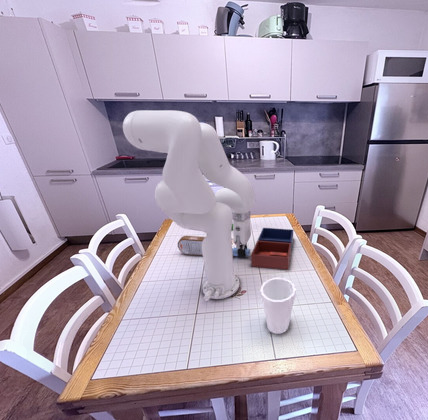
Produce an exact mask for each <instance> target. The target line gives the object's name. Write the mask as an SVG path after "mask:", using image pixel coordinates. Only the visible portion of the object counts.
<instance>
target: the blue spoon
mask: <svg viewBox="0 0 428 420" xmlns="http://www.w3.org/2000/svg"><path fill="white" fill-rule="evenodd" d="M245 252H246V257H245V258H250V257H251V248H247V249H245ZM232 253H233V257H238V249H236V247H232Z"/></svg>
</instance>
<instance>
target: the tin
mask: <svg viewBox="0 0 428 420" xmlns="http://www.w3.org/2000/svg"><path fill="white" fill-rule="evenodd" d="M205 237H206V236H199V235H197V236H195V235H183V236H181V237H180V238H179V240H178V241H177V248H178V250H179V251H180V253H182V254H184V255H188V256H199V257H200V256H202V257H203V254H202V241H203V240H204V238H205Z"/></svg>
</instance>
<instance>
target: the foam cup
mask: <svg viewBox="0 0 428 420" xmlns="http://www.w3.org/2000/svg"><path fill="white" fill-rule="evenodd" d="M296 292H297V291H296V286H295V284H294V283H293V282H292V281H291V280H289V279H287V278H285V277H272V278H269V279H267V280H265V281H264V282H263V283H262V284H261V287H260V300H261V302H262V306H263V311H264V316H265V321H266V327H267V329H268V330H269V332H271V333H273V334H275V335H278V334H279V335H281V334H283V333H285V332H286V331H287V330H288V329H289V325H290V321H291V316H292V311H293V306H294V303H295V300H296V295H297V294H296Z"/></svg>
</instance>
